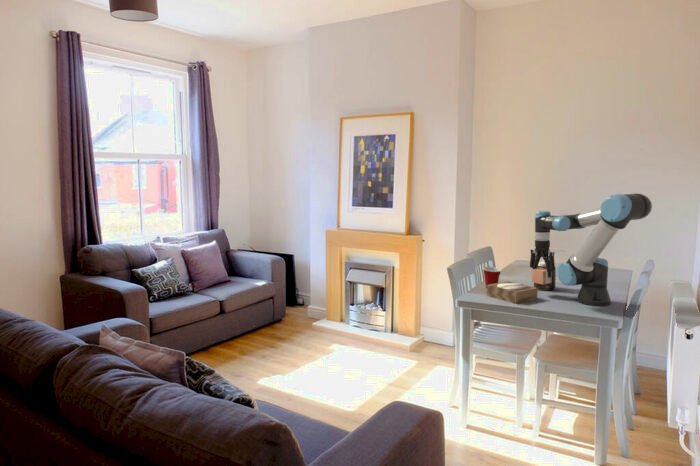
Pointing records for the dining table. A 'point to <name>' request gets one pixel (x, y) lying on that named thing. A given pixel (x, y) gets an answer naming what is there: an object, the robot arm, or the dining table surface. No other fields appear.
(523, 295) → the block
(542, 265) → the jar
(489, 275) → the plastic cup
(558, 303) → the dining table surface
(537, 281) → the terracotta cube
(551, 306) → the dining table surface
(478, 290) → the dining table surface
